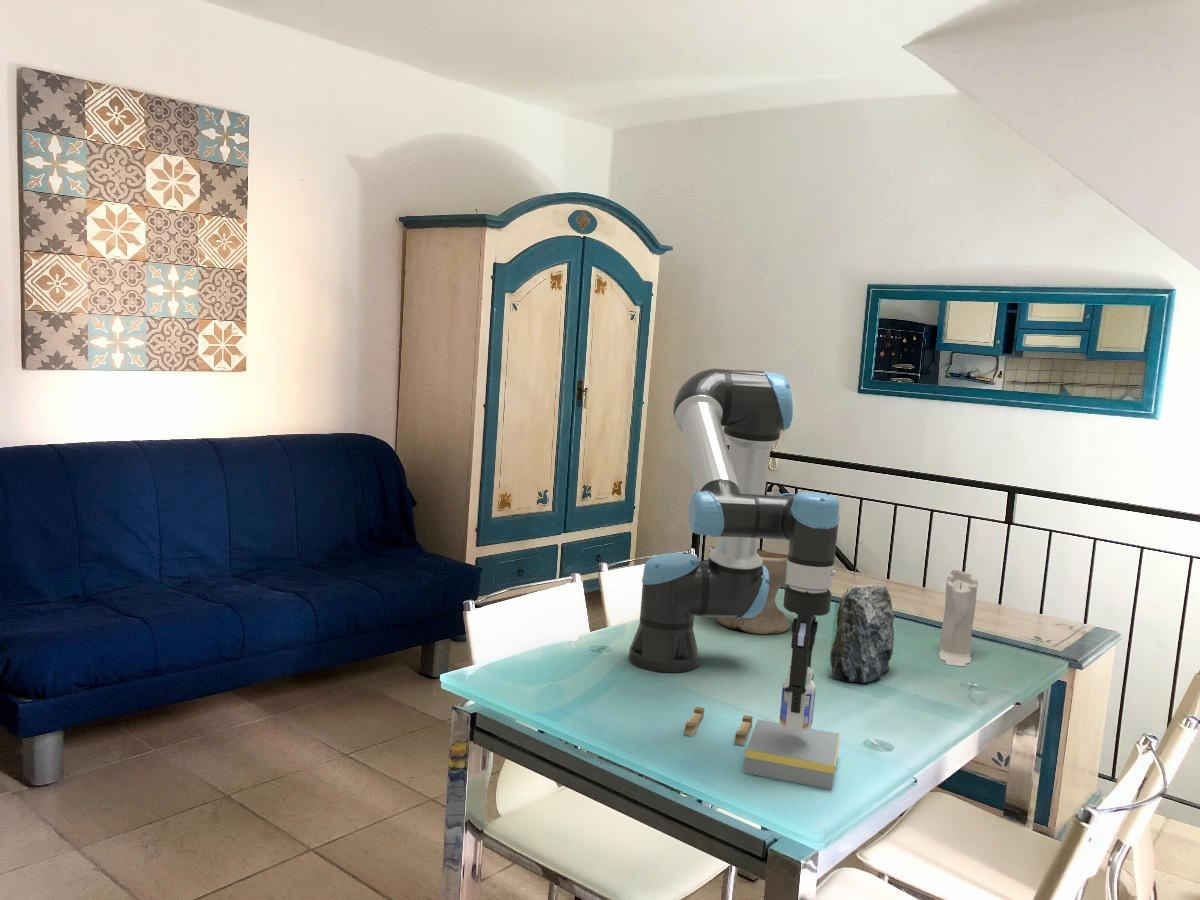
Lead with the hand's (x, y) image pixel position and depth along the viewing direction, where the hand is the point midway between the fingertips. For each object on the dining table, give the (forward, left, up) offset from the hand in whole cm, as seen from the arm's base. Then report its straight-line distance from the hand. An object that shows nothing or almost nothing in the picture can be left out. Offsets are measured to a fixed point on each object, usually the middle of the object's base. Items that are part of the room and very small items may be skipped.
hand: (795, 723), depth 163 cm
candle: (+30, +79, -7) cm, 85 cm away
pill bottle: (0, 0, -1) cm, 1 cm away
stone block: (+10, +55, -7) cm, 56 cm away
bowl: (-18, +82, -7) cm, 84 cm away
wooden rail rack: (-14, +9, -7) cm, 18 cm away
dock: (0, 0, -7) cm, 7 cm away
